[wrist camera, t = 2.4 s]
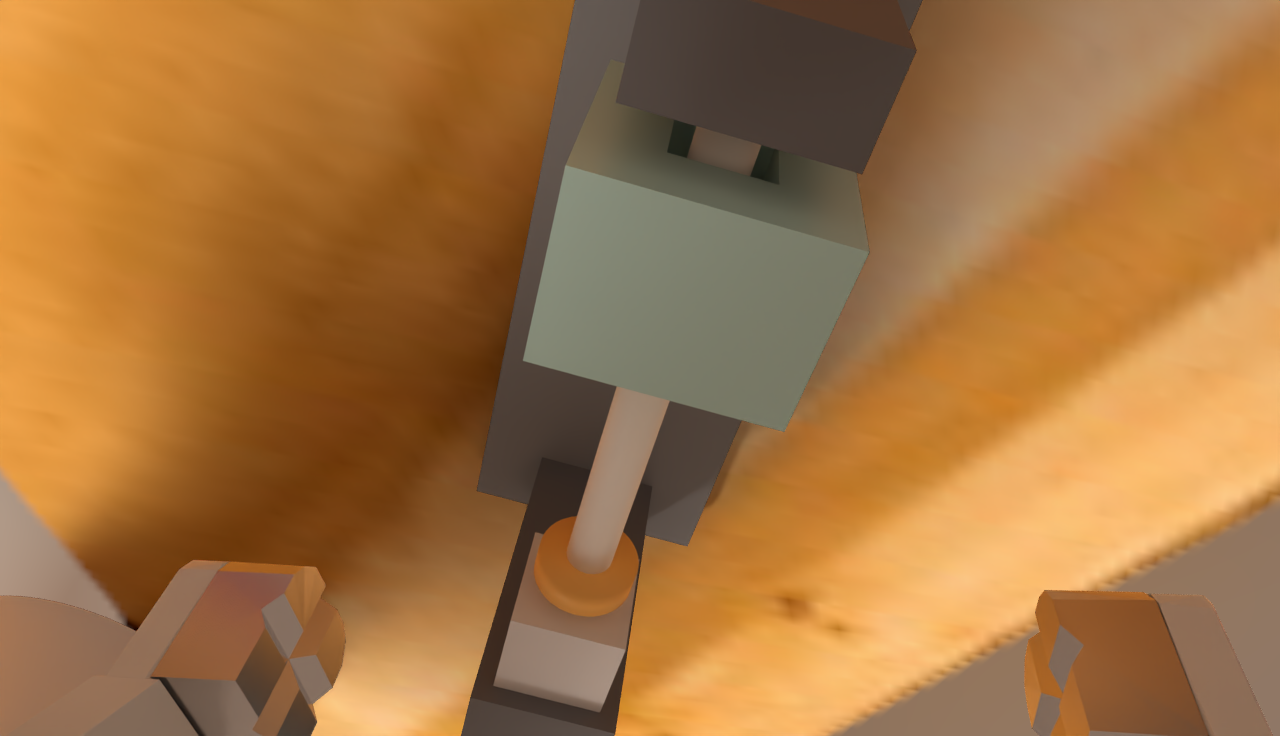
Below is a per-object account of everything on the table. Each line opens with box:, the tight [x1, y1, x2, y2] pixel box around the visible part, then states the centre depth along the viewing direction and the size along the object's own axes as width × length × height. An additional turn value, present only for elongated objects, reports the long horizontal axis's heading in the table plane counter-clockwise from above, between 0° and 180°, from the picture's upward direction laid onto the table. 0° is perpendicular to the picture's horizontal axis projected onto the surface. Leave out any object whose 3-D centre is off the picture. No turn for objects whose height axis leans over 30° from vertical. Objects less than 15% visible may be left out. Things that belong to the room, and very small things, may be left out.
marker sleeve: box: [523, 60, 870, 432], centre depth 18 cm, size 4×5×5 cm
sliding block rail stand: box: [461, 0, 922, 736], centre depth 24 cm, size 22×8×11 cm, turn 166°
